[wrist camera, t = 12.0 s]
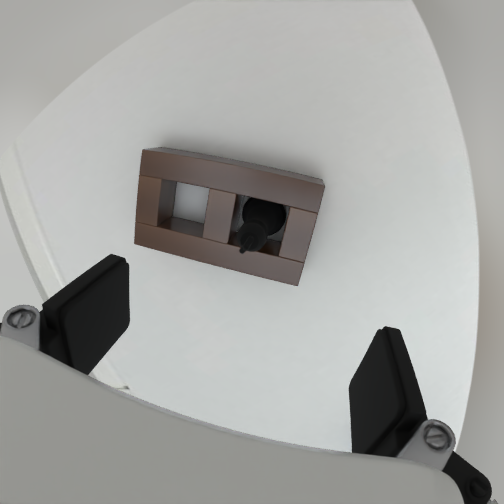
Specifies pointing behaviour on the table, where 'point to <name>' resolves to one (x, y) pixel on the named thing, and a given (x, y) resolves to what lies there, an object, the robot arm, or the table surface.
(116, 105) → the table surface
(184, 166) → the socket base
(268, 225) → the chess piece
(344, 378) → the table surface
